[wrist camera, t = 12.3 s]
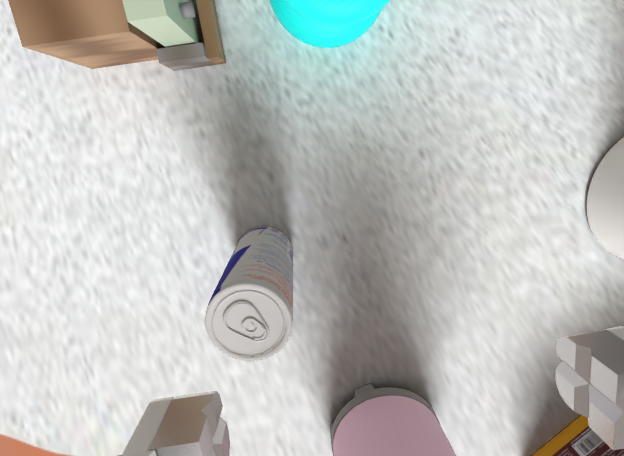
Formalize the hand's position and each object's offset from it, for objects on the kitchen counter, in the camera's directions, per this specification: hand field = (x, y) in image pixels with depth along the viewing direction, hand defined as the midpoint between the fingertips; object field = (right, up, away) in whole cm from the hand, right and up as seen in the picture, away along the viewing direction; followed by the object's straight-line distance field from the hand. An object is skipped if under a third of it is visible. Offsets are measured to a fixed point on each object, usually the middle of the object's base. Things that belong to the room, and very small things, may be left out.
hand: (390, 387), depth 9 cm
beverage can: (-7, +1, +30) cm, 30 cm away
